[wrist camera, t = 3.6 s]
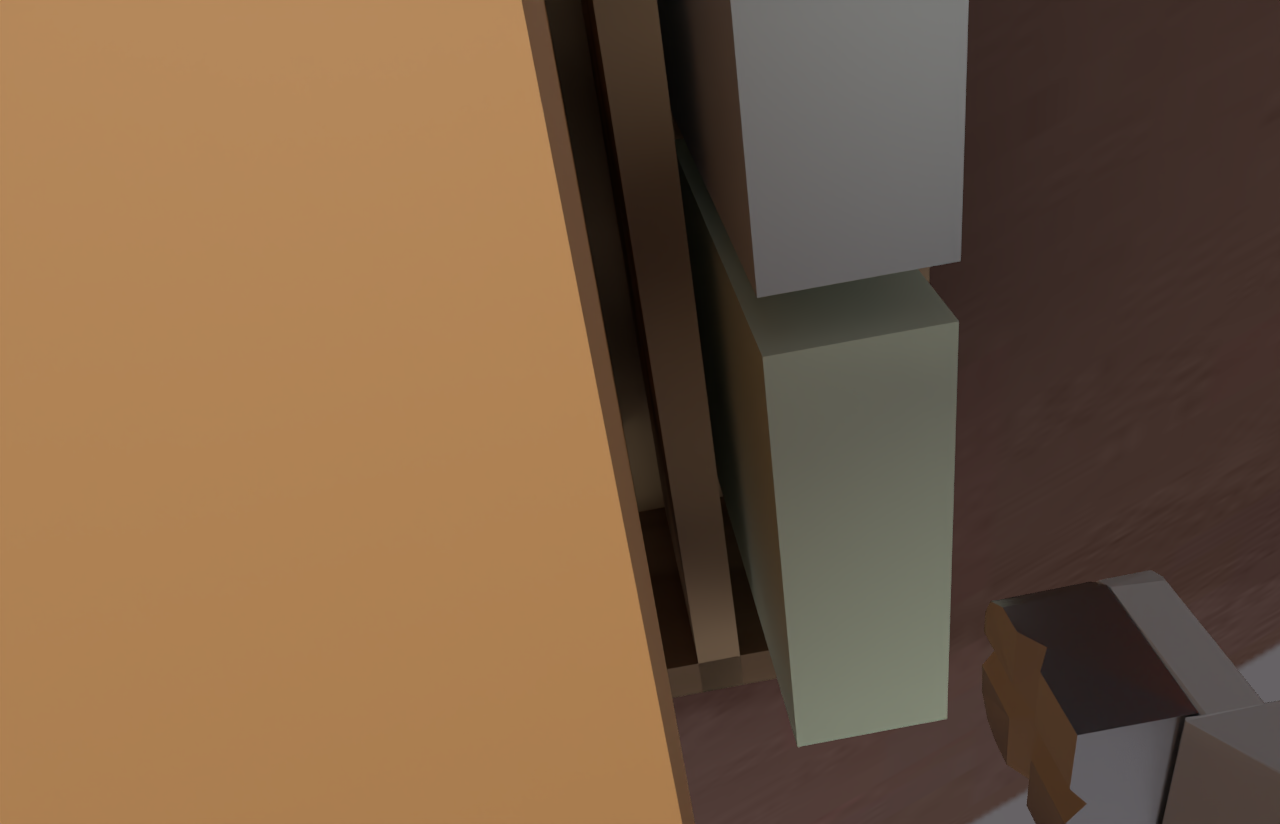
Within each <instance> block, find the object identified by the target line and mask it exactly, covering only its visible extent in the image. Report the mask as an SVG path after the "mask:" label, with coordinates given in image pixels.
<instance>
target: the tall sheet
mask: <svg viewBox="0 0 1280 824" xmlns="http://www.w3.org/2000/svg"><path fill="white" fill-rule="evenodd" d="M0 824H695V821H694V816H693V810H692V805H691V799H690V794H689V788H688V783H687V777H686V772H685V766H684V761H683V755H682V750H681V744H680V739H679V733H678V728H677V722H676V716H675V711H674V705H673V700H672V694H671V689H670V683H669V678H668V672H667V667H666V661H665V656H664V650H663V645H662V639H661V634H660V628H659V623H658V617H657V612H656V606H655V601H654V595H653V590H652V584H651V579H650V573H649V568H648V562H647V556H646V551H645V545H644V540H643V534H642V529H641V523H640V518H639V512H638V507H637V501H636V496H635V490H634V485H633V479H632V474H631V468H630V463H629V457H628V452H627V446H626V441H625V435H624V430H623V424H622V419H621V413H620V408H619V402H618V397H617V391H616V386H615V381H614V375H613V370H612V364H611V359H610V353H609V348H608V342H607V337H606V331H605V326H604V321H603V315H602V310H601V304H600V299H599V293H598V288H597V282H596V277H595V272H594V266H593V261H592V255H591V250H590V244H589V239H588V233H587V228H586V223H585V217H584V212H583V206H582V201H581V195H580V190H579V184H578V179H577V174H576V168H575V163H574V157H573V152H572V146H571V141H570V135H569V130H568V124H567V119H566V114H565V108H564V103H563V97H562V92H561V86H560V81H559V75H558V70H557V65H556V59H555V54H554V48H553V43H552V37H551V32H550V26H549V21H548V16H547V10H546V5H545V0H0Z"/></svg>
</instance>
